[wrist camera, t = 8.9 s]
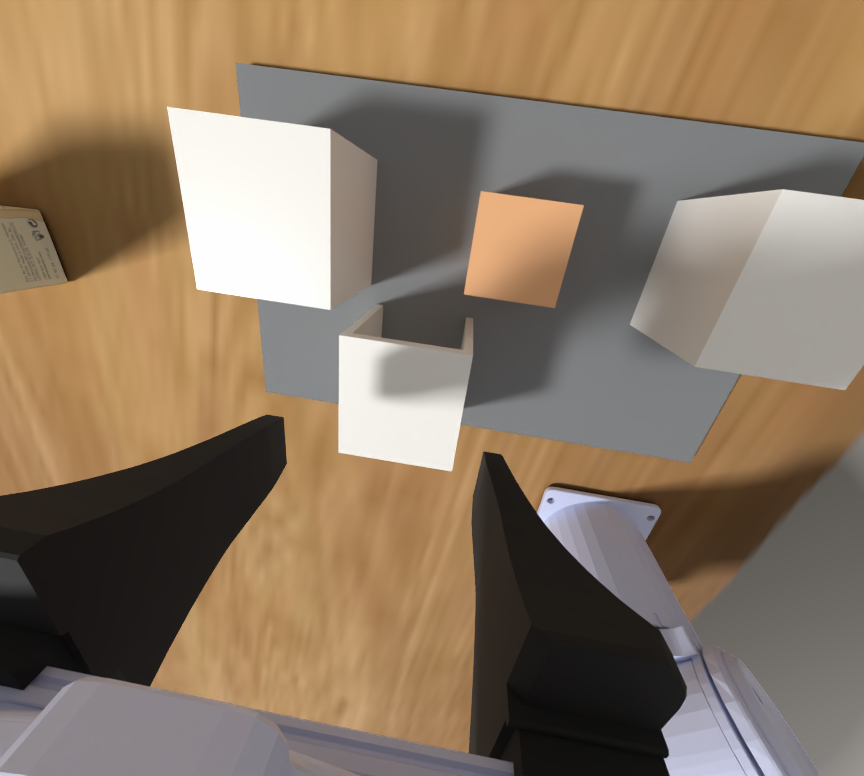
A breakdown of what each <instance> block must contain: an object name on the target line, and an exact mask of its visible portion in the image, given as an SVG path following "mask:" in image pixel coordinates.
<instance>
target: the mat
mask: <svg viewBox="0 0 864 776" xmlns="http://www.w3.org/2000/svg"><path fill="white" fill-rule="evenodd" d="M236 70H237V81H238V92H239V103H240V113H241V117H246V118H253V119H261V120H268V121H276V122H283V123H291V124H298V125H306V126H313V127H321V128H328V129H331V130H333V131H335V132H336V133H338V134H339V135H341V136H342V137H344V138H345V139H347V140H348V141H350V142H351V143H353V144H354V145H356V146H357V147H359V148H360V149H362V150H363V151H365V152H366V153H368V154H369V155H371V156H372V157H374V158H375V159H377V180H376V200H375V220H374V240H373V260H372V280H371V286H369V287H368V288H366V289H364V290H363V291H361V292H359V293H358V294H356V295H355V296H353V297H351V298H350V299H348V300H346V301H345V302H343V303H341V304H340V305H338V306H336V307H335V308H333V309H331V310H327V309H321V308H314V307H308V306H301V305H295V304H289V303H282V302H276V301H269V300H263V299H258V310H259V320H260V331H261V342H262V353H263V364H264V375H265V386H266V392H270V393H276V394H282V395H288V396H294V397H300V398H306V399H312V400H318V401H324V402H330V403H336V404H339V335H340V334H341V333H342V332H343V331H345V330H346V329H347V328H348V327H350V326H351V325H352V324H353V323H354V322H356V321H357V320H358V319H359V318H360V317H362V316H363V315H364V314H365V313H366V312H368V311H369V310H370V309H371V308H372V307H374V306H375V305H376V304H380V305H383V320H382V337H381V338H387V339H394V340H401V341H407V342H414V343H420V344H427V345H434V346H440V347H447V348H454V349H460V350H461V346H462V340H463V334H464V328H465V322H466V317H468V318H473V359H472V364H471V369H470V375H469V380H468V386H467V391H466V397H465V402H464V408H463V413H462V418H461V424H462V425H468V426H474V427H480V428H486V429H492V430H498V431H503V432H509V433H515V434H521V435H527V436H533V437H539V438H545V439H551V440H557V441H563V442H569V443H575V444H581V445H587V446H593V447H599V448H605V449H611V450H617V451H623V452H629V453H635V454H641V455H647V456H653V457H659V458H665V459H671V460H677V461H683V462H689V463H690V462H691V461H692V459H693V457H694V455H695V453H696V452H697V450H698V448H699V446H700V445H701V443H702V441H703V439H704V438H705V436H706V434H707V432H708V431H709V429H710V427H711V425H712V423H713V422H714V420H715V418H716V416H717V415H718V413H719V411H720V409H721V408H722V406H723V404H724V402H725V401H726V399H727V397H728V395H729V393H730V392H731V390H732V388H733V386H734V385H735V383H736V381H737V379H738V378H739V376H740V374H738V373H731V372H725V371H718V370H712V369H705V368H699V367H694V366H693V365H691V364H689V363H688V362H686V361H685V360H683V359H682V358H680V357H679V356H677V355H676V354H674V353H673V352H671V351H669V350H668V349H666V348H665V347H663V346H662V345H660V344H659V343H657V342H656V341H654V340H652V339H651V338H649V337H648V336H646V335H645V334H643V333H642V332H640V331H639V330H637V329H636V328H634V327H632V326H631V325H630V322H631V320H632V317H633V315H634V312H635V310H636V307H637V304H638V302H639V299H640V297H641V294H642V291H643V289H644V286H645V284H646V281H647V279H648V276H649V273H650V271H651V268H652V266H653V263H654V260H655V258H656V255H657V253H658V250H659V248H660V245H661V242H662V240H663V237H664V235H665V232H666V229H667V227H668V224H669V222H670V219H671V216H672V214H673V211H674V209H675V206H676V204H677V201H681V200H690V199H699V198H708V197H717V196H726V195H735V194H744V193H753V192H762V191H771V190H780V189H785V190H793V191H800V192H808V193H815V194H823V195H830V196H838V197H841V196H842V194H843V192H844V190H845V189H846V187H847V185H848V183H849V182H850V180H851V178H852V176H853V175H854V173H855V171H856V169H857V168H858V166H859V164H860V162H861V160H862V159H863V157H864V143H863V142H856V141H848V140H840V139H832V138H824V137H816V136H808V135H800V134H793V133H785V132H777V131H769V130H761V129H753V128H745V127H737V126H729V125H722V124H714V123H706V122H698V121H690V120H682V119H674V118H666V117H659V116H651V115H643V114H635V113H627V112H619V111H611V110H603V109H595V108H588V107H580V106H572V105H564V104H556V103H548V102H540V101H532V100H525V99H517V98H509V97H501V96H493V95H485V94H477V93H469V92H461V91H454V90H446V89H438V88H430V87H422V86H414V85H406V84H398V83H391V82H383V81H375V80H367V79H359V78H351V77H343V76H335V75H327V74H320V73H312V72H304V71H296V70H288V69H280V68H272V67H264V66H257V65H249V64H241V63H236ZM481 191H484V192H492V193H499V194H506V195H513V196H520V197H528V198H535V199H542V200H549V201H557V202H564V203H571V204H578V205H584V207H583V210H582V214H581V217H580V221H579V224H578V228H577V231H576V235H575V239H574V242H573V246H572V249H571V253H570V256H569V260H568V263H567V267H566V270H565V274H564V277H563V281H562V284H561V288H560V291H559V295H558V298H557V302H556V305H555V308H551V307H544V306H538V305H531V304H524V303H518V302H511V301H505V300H498V299H491V298H485V297H478V296H472V295H465V294H464V290H465V283H466V276H467V270H468V264H469V258H470V252H471V246H472V240H473V234H474V228H475V222H476V216H477V210H478V204H479V198H480V193H481Z"/></svg>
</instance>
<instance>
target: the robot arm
mask: <svg viewBox="0 0 864 776" xmlns="http://www.w3.org/2000/svg"><path fill="white" fill-rule="evenodd" d="M286 464H287V460H286V445H285V431H284V417H278V416H272V415H265V416H262V417H259V418H257V419H255V420H252V421H250V422H248V423H245V424H243V425H241V426H239V427H236V428H234V429H232V430H230V431H227V432H225V433H223V434H220V435H218V436H216V437H214V438H211V439H209V440H207V441H204V442H202V443H199V444H197V445H194V446H192V447H189V448H187V449H184V450H182V451H179V452H177V453H174V454H171V455H168V456H166V457H163V458H160V459H157V460H154V461H151V462H148V463H144V464H141V465H138V466H135V467H132V468H128V469H124V470H120V471H117V472H113V473H109V474H106V475H102V476H98V477H94V478H90V479H86V480H82V481H77V482H73V483H68V484H64V485H59V486H54V487H49V488H44V489H39V490H33V491H28V492H22V493H16V494H9V495H3V496H0V776H821V775H820V774H819V772H818V770H817V769H816V767H815V766H814V764H813V762H812V761H811V759H810V758H809V756H808V755H807V753H806V752H805V750H804V749H803V747H802V745H801V744H800V742H799V741H798V739H797V738H796V736H795V735H794V733H793V732H792V730H791V729H790V727H789V726H788V724H787V723H786V721H785V720H784V718H783V717H782V715H781V714H780V712H779V711H778V709H777V708H776V706H775V705H774V704H773V702H772V701H771V699H770V698H769V697H768V695H767V694H766V692H765V691H764V690H763V688H762V687H761V685H760V684H759V683H758V681H757V680H756V679H755V677H754V676H753V675H752V673H751V672H750V671H749V670H748V669H747V667H746V666H745V665H744V664H743V663H742V662H741V661H740V660H739V659H738V658H737V657H735V656H733V655H731V654H729V653H727V652H724V651H723V650H722V649H721V648H719V647H718V646H710V647H706V648H704V647H703V646H702V644H701V643H700V641H699V639H698V637H697V635H696V633H695V631H694V630H693V628H692V626H691V624H690V622H689V620H688V619H687V617H686V615H685V613H684V611H683V609H682V607H681V606H680V604H679V602H678V600H677V598H676V596H675V595H674V593H673V591H672V589H671V587H670V585H669V583H668V582H667V580H666V578H665V576H664V574H663V572H662V570H661V569H660V567H659V565H658V563H657V561H656V559H655V558H654V556H653V554H652V552H651V550H650V548H649V546H648V545H647V543H646V539H647V537H648V535H649V534H650V532H651V530H652V528H653V526H654V525H655V523H656V521H657V519H658V518H659V516H660V514H661V510H660V508H659V507H658V506H657V505H655V504H651V503H645V502H639V501H633V500H628V499H622V498H616V497H610V496H604V495H599V494H593V493H587V492H581V491H576V490H570V489H564V488H558V487H548V488H547V489H546V490H545V492H544V495H543V498H542V500H541V503H540V506H539V509H538V512H536V511H535V510H534V508H533V507H532V505H531V504H530V502H529V501H528V499H527V498H526V496H525V495H524V493H523V491H522V490H521V488H520V487H519V485H518V483H517V482H516V480H515V478H514V476H513V475H512V473H511V471H510V469H509V467H508V466H507V464H506V462H505V460H504V458H503V456H502V455H501V454H495V453H489V452H483V456H482V461H481V465H480V469H479V473H478V478H477V482H476V486H475V490H474V494H473V506H472V538H473V554H474V569H475V585H476V612H475V642H474V668H473V688H472V708H471V725H470V742H469V753H465V752H460V751H455V750H450V749H445V748H440V747H436V746H431V745H426V744H421V743H416V742H411V741H407V740H402V739H397V738H392V737H387V736H382V735H378V734H373V733H368V732H363V731H358V730H353V729H349V728H344V727H339V726H334V725H329V724H325V723H320V722H315V721H310V720H305V719H300V718H296V717H291V716H286V715H281V714H276V713H271V712H267V711H262V710H257V709H252V708H247V707H242V706H238V705H234V704H231V703H226V702H221V701H217V700H212V699H207V698H202V697H197V696H192V695H188V694H183V693H178V692H173V691H168V690H163V689H159V688H154V687H150V685H151V683H152V681H153V679H154V677H155V675H156V673H157V672H158V670H159V668H160V666H161V664H162V662H163V660H164V658H165V656H166V654H167V652H168V650H169V648H170V646H171V644H172V642H173V641H174V639H175V637H176V635H177V633H178V631H179V630H180V628H181V626H182V624H183V622H184V620H185V619H186V617H187V615H188V613H189V611H190V610H191V608H192V606H193V604H194V603H195V601H196V599H197V598H198V596H199V594H200V592H201V591H202V589H203V587H204V586H205V584H206V582H207V580H208V579H209V577H210V576H211V574H212V572H213V571H214V569H215V567H216V566H217V564H218V563H219V561H220V559H221V558H222V556H223V554H224V553H225V551H226V550H227V549H228V547H229V546H230V544H231V543H232V541H233V540H234V539H235V537H236V536H237V535H238V533H239V532H240V531H241V530H242V528H243V527H244V526H245V524H246V523H247V522H248V520H249V519H250V518H251V516H252V515H253V514H254V513H255V511H256V510H257V509H258V507H259V506H260V505H261V503H262V502H263V501H264V499H265V498H266V497H267V495H268V494H269V493H270V491H271V490H272V488H273V487H274V485H275V484H276V482H277V480H278V478H279V477H280V475H281V473H282V471H283V469H284V468H285V466H286ZM549 498H553V499H551V500H548V499H549ZM648 516H650V517H648Z"/></svg>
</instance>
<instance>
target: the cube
mask: <svg viewBox="0 0 864 776" xmlns="http://www.w3.org/2000/svg"><path fill="white" fill-rule="evenodd" d="M583 207H584V205H578V204H571V203H564V202H557V201H549V200H542V199H535V198H528V197H520V196H513V195H506V194H499V193H492V192H484V191H481V193H480V198H479V204H478V210H477V216H476V222H475V228H474V234H473V240H472V246H471V252H470V258H469V264H468V270H467V276H466V283H465V290H464V294H465V295H472V296H478V297H485V298H491V299H498V300H505V301H511V302H518V303H524V304H531V305H538V306H544V307H551V308H555V305H556V302H557V298H558V295H559V291H560V288H561V284H562V281H563V277H564V274H565V270H566V267H567V263H568V260H569V256H570V253H571V249H572V246H573V242H574V239H575V235H576V231H577V228H578V224H579V221H580V217H581V214H582V210H583Z"/></svg>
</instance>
